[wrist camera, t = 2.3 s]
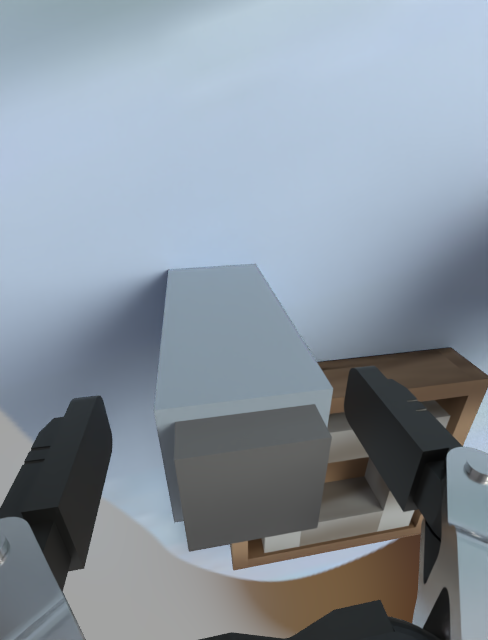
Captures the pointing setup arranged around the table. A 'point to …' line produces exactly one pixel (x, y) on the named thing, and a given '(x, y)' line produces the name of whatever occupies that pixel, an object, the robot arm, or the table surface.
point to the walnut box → (356, 466)
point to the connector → (238, 410)
